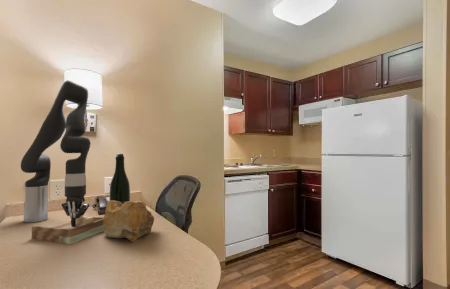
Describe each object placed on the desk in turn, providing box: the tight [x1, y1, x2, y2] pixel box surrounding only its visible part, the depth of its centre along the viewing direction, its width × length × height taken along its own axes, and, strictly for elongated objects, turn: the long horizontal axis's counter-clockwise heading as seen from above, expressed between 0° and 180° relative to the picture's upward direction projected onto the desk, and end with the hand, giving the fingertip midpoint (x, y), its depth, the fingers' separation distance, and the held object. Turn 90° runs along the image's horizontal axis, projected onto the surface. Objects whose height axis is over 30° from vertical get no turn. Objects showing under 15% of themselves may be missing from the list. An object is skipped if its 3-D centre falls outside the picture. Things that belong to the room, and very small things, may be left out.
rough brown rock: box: [103, 200, 155, 243], centre depth 97 cm, size 23×17×15 cm
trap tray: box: [31, 215, 104, 245], centre depth 100 cm, size 20×18×5 cm
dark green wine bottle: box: [108, 153, 131, 204], centre depth 131 cm, size 10×10×33 cm
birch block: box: [76, 215, 95, 227], centre depth 98 cm, size 4×4×4 cm
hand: (75, 226), depth 99 cm, fingers closed
